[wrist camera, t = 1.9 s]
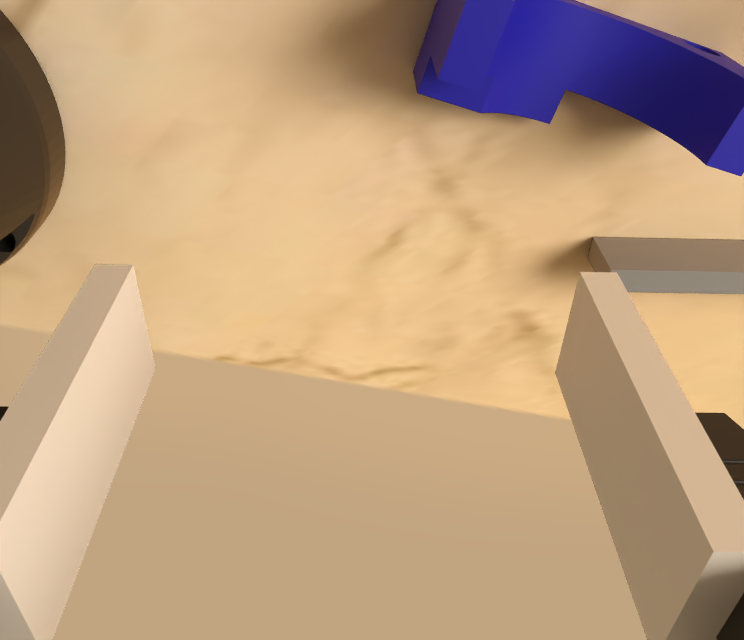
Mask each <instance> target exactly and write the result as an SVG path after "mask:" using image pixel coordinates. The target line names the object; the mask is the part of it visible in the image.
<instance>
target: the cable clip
mask: <svg viewBox="0 0 744 640" xmlns="http://www.w3.org/2000/svg"><path fill="white" fill-rule="evenodd" d="M413 73H414V79H415V84H416V89H417V93H419V94H422V95H425V96H428V97H431V98H434V99H438V100H441V101H444V102H447V103H450V104H454V105H457V106H460V107H463V108H466V109H469V110H473V111H476V112H479V113H504V114H511V115H517V116H522V117H526V118H530V119H534V120H538V121H541V122H545V123H548V124H550V122H551V120H552V118H553V116H554V114H555V111H556V109H557V107H558V105H559V103H560V101H561V99H562V97H563V95H564V93H565V90H569V91H572V92H574V93H577V94H580V95H583V96H585V97H588V98H591V99H593V100H596V101H598V102H600V103H603V104H605V105H608V106H610V107H612V108H614V109H617V110H619V111H621V112H623V113H625V114H627V115H629V116H631V117H633V118H635V119H637V120H639V121H641V122H643V123H645V124H647V125H649V126H651V127H652V128H654V129H656V130H658V131H659V132H661V133H663V134H665V135H666V136H668V137H669V138H671V139H673V140H674V141H676V142H677V143H679V144H680V145H682V146H683V147H685V148H686V149H687V150H689V151H690V152H691V153H693V154H694V155H695V156H696V157H698V158H699V159H700V160H701V161H702V162H703V163H704V164H705V165H707V166H710V167H714V168H717V169H720V170H723V171H726V172H729V173H732V174H735V175H739V176H742V174H743V173H744V67H743V66H741V65H740V64H738V63H737V62H735V61H734V60H732V59H731V58H729V57H728V56H726V55H724V54H723V53H721V52H718V51H715V50H712V49H710V48H707V47H704V46H701V45H698V44H696V43H693V42H690V41H687V40H684V39H682V38H679V37H676V36H673V35H670V34H668V33H665V32H662V31H659V30H656V29H654V28H651V27H648V26H645V25H642V24H640V23H637V22H634V21H631V20H628V19H626V18H623V17H620V16H617V15H614V14H612V13H609V12H606V11H603V10H600V9H598V8H595V7H592V6H589V5H586V4H584V3H581V2H578V1H575V0H437V3H436V6H435V9H434V12H433V15H432V17H431V20H430V23H429V26H428V29H427V32H426V35H425V38H424V41H423V44H422V47H421V50H420V53H419V56H418V59H417V62H416V65H415V67H414V70H413Z"/></svg>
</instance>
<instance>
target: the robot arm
mask: <svg viewBox="0 0 744 640" xmlns="http://www.w3.org/2000/svg"><path fill="white" fill-rule="evenodd" d="M64 169H65V140H64V133H63V127H62V122H61V117H60V114H59V110H58V107H57V103H56V101H55V98H54V95H53V92H52V90H51V87H50V85H49V83H48V81H47V78H46V76H45V74H44V72H43V70H42V68H41V67H40V65H39V63H38V61H37V59H36V58H35V56H34V54H33V53H32V51H31V49H30V48H29V46H28V45H27V43H26V42H25V41H24V39H23V38H22V36H21V35H20V33H19V32H18V31H17V30H16V28H15V27H14V26H13V24H12V23H11V22H10V21H9V19H8V18H7V17H6V16H5V15H4V14H3V12H2V11H1V10H0V266H1V265H2V264H4V263H5V262H6V261H8V260H9V259H10V258H11V257H13V256H14V255H15V254H16V253H18V252H19V251H20V250H21V249H22V248H23V247H24V246H25V244H26V243H27V242H28V241H29V240H30V238H31V237H32V236H33V235H34V233H35V232H36V231H37V230H38V229H39V227H40V226H41V225H42V224H43V222H44V221H45V220H46V218H47V217H48V215H49V214H50V212H51V210H52V209H53V207H54V205H55V203H56V200H57V198H58V196H59V192H60V189H61V186H62V181H63V177H64ZM155 368H156V367H155V363H154V358H153V353H152V349H151V344H150V340H149V335H148V330H147V326H146V321H145V317H144V312H143V308H142V303H141V298H140V294H139V289H138V285H137V280H136V275H135V271H134V266H133V265H121V264H95V265H94V267H93V269H92V270H91V272H90V274H89V275H88V277H87V279H86V280H85V282H84V283H83V285H82V287H81V288H80V290H79V292H78V293H77V295H76V297H75V298H74V300H73V302H72V303H71V305H70V307H69V308H68V310H67V312H66V313H65V315H64V317H63V318H62V320H61V322H60V323H59V325H58V327H57V328H56V330H55V331H54V333H53V335H52V336H51V338H50V340H49V341H48V343H47V345H46V346H45V348H44V350H43V351H42V353H41V355H40V356H39V358H38V360H37V361H36V363H35V365H34V366H33V368H32V370H31V371H30V373H29V374H28V376H27V378H26V380H25V381H24V383H23V384H22V386H21V388H20V389H19V391H18V393H17V394H16V396H15V398H14V399H13V401H12V403H11V405H10V406H9V407H0V640H52V639H53V636H54V634H55V631H56V629H57V626H58V623H59V621H60V618H61V616H62V613H63V610H64V608H65V605H66V602H67V600H68V597H69V594H70V592H71V589H72V587H73V584H74V581H75V579H76V576H77V573H78V570H79V568H80V566H81V563H82V560H83V557H84V555H85V552H86V550H87V547H88V544H89V542H90V539H91V536H92V534H93V531H94V529H95V526H96V523H97V521H98V518H99V515H100V512H101V510H102V507H103V505H104V502H105V500H106V497H107V494H108V492H109V489H110V487H111V484H112V481H113V478H114V476H115V473H116V471H117V468H118V466H119V463H120V460H121V457H122V455H123V452H124V450H125V447H126V444H127V442H128V439H129V436H130V434H131V431H132V429H133V426H134V423H135V421H136V418H137V416H138V413H139V410H140V408H141V405H142V402H143V400H144V397H145V394H146V392H147V389H148V386H149V384H150V381H151V379H152V376H153V373H154V371H155ZM555 374H556V376H557V379H558V382H559V385H560V388H561V391H562V394H563V397H564V400H565V403H566V405H567V408H568V411H569V414H570V417H571V420H572V423H573V426H574V429H575V432H576V434H577V437H578V440H579V443H580V446H581V449H582V452H583V455H584V457H585V460H586V463H587V466H588V469H589V472H590V475H591V478H592V481H593V484H594V487H595V489H596V492H597V495H598V498H599V501H600V504H601V507H602V510H603V512H604V515H605V519H606V521H607V524H608V527H609V530H610V533H611V536H612V539H613V542H614V544H615V547H616V550H617V553H618V556H619V559H620V562H621V565H622V568H623V571H624V573H625V576H626V579H627V582H628V585H629V588H630V591H631V594H632V597H633V600H634V603H635V605H636V608H637V611H638V614H639V617H640V620H641V623H642V626H643V628H644V632H645V634H646V637H647V640H744V429H742V428H741V427H740V426H739V425H738V424H737V423H735V422H734V421H733V420H732V419H731V418H730V417H728V416H727V415H726V414H725V413H695V412H694V410H693V408H692V406H691V405H690V403H689V401H688V399H687V397H686V396H685V394H684V392H683V390H682V388H681V387H680V385H679V383H678V381H677V379H676V378H675V376H674V374H673V372H672V370H671V369H670V367H669V365H668V363H667V362H666V360H665V358H664V356H663V354H662V353H661V351H660V349H659V347H658V345H657V344H656V342H655V340H654V338H653V336H652V335H651V333H650V331H649V329H648V327H647V326H646V324H645V322H644V320H643V318H642V317H641V315H640V313H639V311H638V309H637V308H636V306H635V304H634V302H633V301H632V299H631V297H630V295H629V293H628V292H627V290H626V288H625V286H624V284H623V283H622V281H621V279H620V277H619V275H618V274H617V272H580V274H579V278H578V282H577V286H576V291H575V295H574V299H573V303H572V307H571V311H570V315H569V319H568V323H567V327H566V331H565V335H564V339H563V343H562V347H561V352H560V356H559V360H558V364H557V368H556V372H555Z"/></svg>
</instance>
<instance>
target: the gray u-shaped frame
mask: <svg viewBox="0 0 744 640" xmlns="http://www.w3.org/2000/svg"><path fill="white" fill-rule="evenodd" d="M588 259H589V261H590V263H591V265H592V267H593V269H594V271H595V272H617V274H618V275H619V277H620V279H621V281H622V283H623V284H624V286H625V288H626V290H627V292H652V293H707V294H744V240H717V239H666V238H616V237H593V240H592V244H591V248H590V252H589V256H588Z"/></svg>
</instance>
